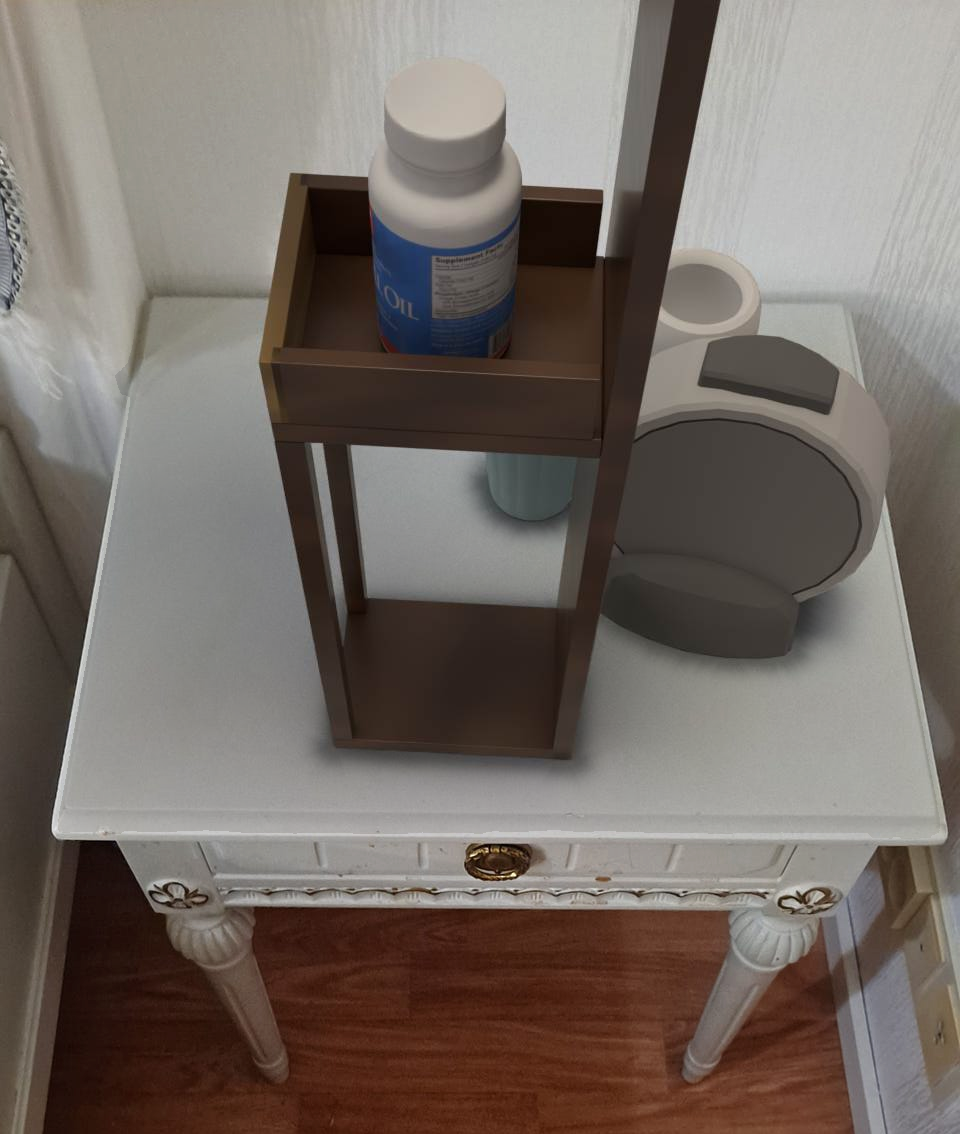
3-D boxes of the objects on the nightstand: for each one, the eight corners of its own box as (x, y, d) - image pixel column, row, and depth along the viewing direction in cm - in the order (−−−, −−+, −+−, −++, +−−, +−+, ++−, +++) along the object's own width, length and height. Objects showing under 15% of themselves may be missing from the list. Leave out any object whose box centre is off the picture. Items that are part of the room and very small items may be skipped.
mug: (611, 338, 82) (627, 240, 75) (731, 336, 82) (758, 238, 75) (628, 473, 77) (646, 382, 70) (754, 471, 78) (785, 380, 70)
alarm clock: (839, 551, 75) (951, 320, 58) (814, 682, 71) (926, 475, 54) (595, 494, 76) (636, 252, 60) (558, 619, 73) (589, 398, 56)
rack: (333, 747, 69) (180, -32, 30) (349, 605, 73) (232, -243, 34) (571, 760, 69) (721, -3, 30) (574, 617, 73) (710, -218, 34)
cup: (614, 501, 76) (635, 378, 67) (518, 554, 74) (526, 436, 65) (546, 426, 79) (558, 297, 69) (451, 476, 77) (450, 350, 67)
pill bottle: (360, 303, 47) (338, 58, 38) (484, 272, 48) (491, 25, 39) (404, 401, 45) (392, 166, 36) (533, 366, 46) (552, 128, 37)
